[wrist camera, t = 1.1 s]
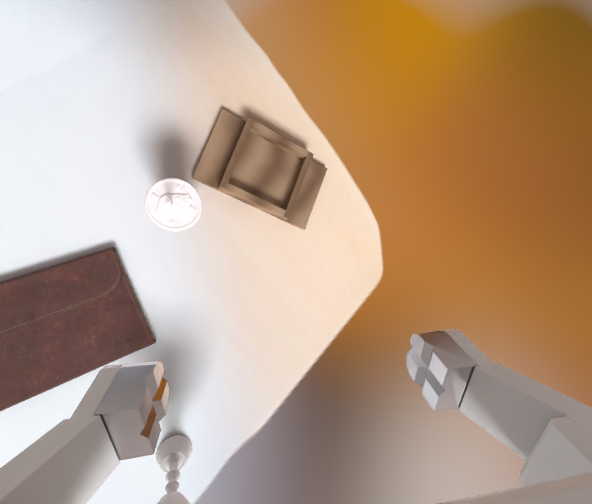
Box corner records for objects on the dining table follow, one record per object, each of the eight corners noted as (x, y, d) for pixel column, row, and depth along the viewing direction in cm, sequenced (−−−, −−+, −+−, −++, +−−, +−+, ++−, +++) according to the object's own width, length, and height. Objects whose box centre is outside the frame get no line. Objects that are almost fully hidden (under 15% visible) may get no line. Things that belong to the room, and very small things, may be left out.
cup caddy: (192, 178, 43) (192, 173, 40) (221, 111, 44) (224, 102, 41) (302, 229, 50) (309, 228, 47) (324, 169, 51) (332, 165, 48)
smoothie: (144, 205, 40) (123, 183, 27) (184, 185, 42) (183, 156, 29) (169, 242, 42) (161, 239, 29) (207, 221, 44) (216, 210, 30)
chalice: (139, 470, 40) (105, 627, 24) (160, 424, 41) (143, 543, 25) (187, 478, 43) (188, 625, 26) (207, 434, 44) (219, 548, 27)
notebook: (156, 340, 41) (154, 344, 40) (-8, 412, 35) (-19, 421, 33) (115, 247, 39) (111, 247, 38) (-68, 304, 33) (-83, 307, 31)
